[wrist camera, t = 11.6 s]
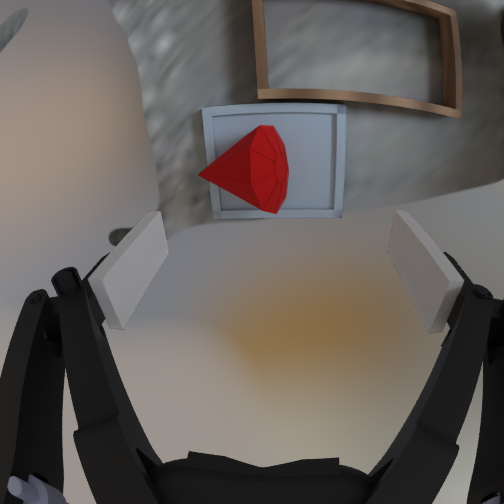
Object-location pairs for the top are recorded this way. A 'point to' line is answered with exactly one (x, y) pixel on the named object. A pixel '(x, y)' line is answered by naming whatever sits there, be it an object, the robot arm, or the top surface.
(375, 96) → the frame
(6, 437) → the robot arm
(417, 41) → the top surface
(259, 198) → the gemstone
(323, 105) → the tray
